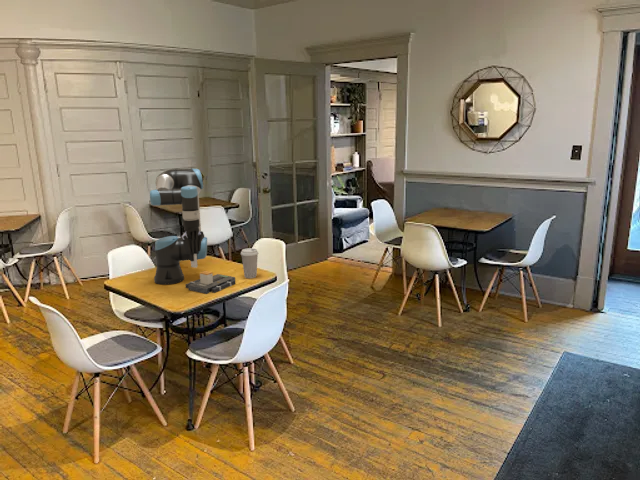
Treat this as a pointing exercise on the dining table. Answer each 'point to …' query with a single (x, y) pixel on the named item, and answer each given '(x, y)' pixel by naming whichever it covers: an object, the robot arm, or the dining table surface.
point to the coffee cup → (249, 262)
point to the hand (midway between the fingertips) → (194, 266)
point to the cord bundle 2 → (223, 286)
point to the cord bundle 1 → (191, 283)
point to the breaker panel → (206, 288)
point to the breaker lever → (206, 277)
